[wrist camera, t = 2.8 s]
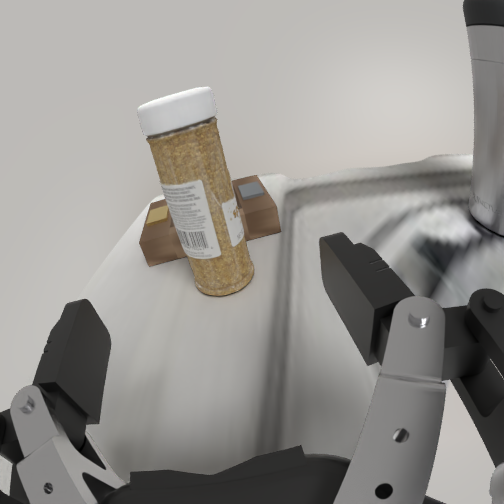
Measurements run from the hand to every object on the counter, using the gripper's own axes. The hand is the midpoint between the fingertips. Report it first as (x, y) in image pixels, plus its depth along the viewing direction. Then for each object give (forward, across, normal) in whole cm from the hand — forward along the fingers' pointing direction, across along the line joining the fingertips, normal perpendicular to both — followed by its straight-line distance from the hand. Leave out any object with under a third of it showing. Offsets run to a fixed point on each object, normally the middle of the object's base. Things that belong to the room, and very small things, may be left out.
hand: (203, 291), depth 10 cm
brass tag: (+20, +5, +5) cm, 21 cm away
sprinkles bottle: (+11, 0, +8) cm, 13 cm away
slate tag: (+20, -4, +5) cm, 21 cm away
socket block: (+20, 0, +8) cm, 21 cm away
